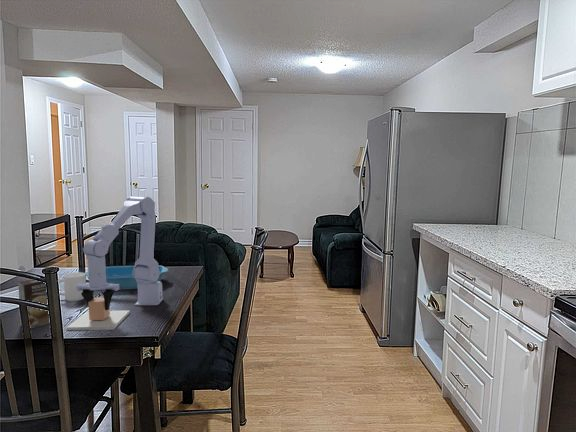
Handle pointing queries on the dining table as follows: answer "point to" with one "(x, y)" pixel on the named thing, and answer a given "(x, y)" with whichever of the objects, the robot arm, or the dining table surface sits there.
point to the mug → (72, 286)
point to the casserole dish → (125, 276)
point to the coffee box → (36, 294)
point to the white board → (99, 321)
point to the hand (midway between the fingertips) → (99, 309)
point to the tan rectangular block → (98, 309)
